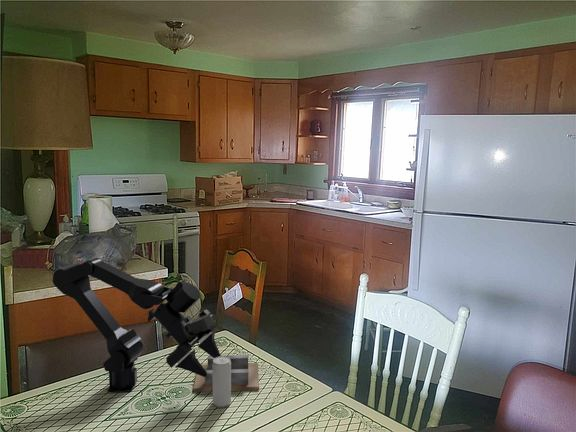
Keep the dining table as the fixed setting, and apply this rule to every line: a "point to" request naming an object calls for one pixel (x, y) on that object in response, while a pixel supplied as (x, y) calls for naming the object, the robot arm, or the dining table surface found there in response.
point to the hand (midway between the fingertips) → (213, 367)
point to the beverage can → (221, 381)
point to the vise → (241, 375)
